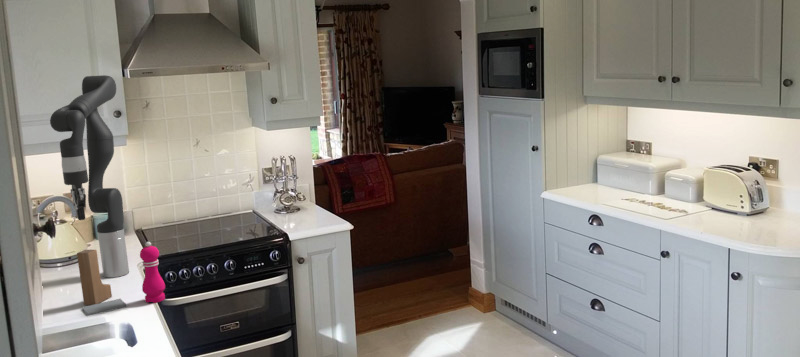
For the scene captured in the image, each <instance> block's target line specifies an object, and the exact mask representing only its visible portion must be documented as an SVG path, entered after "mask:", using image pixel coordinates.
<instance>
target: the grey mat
mask: <svg viewBox="0 0 800 357" xmlns="http://www.w3.org/2000/svg"><path fill="white" fill-rule="evenodd" d="M126 307H128V305H127V303H126V302H125V301H123V300H122V299H121V298H116V299H112V300H106V301H103V302H101V303H99V304H94V305H85V306H82V308H81V309H82V311H84V313H85V314H86V315H87V316H92V315H96V314H100V313H104V312H108V311H113V310H116V309H121V308H126Z"/></svg>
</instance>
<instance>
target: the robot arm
mask: <svg viewBox="0 0 800 357" xmlns="http://www.w3.org/2000/svg"><path fill="white" fill-rule="evenodd" d="M81 93H82V94H80V95H78V96H77V97H75V98H74V99H73V100H72V101H70V103H69V104H68V105H67V104H66V105H65V106H62V107H60V108H58V109H56V110H55V111H54V112H53V113H52V114H51V116H50V118H49V124H50V126H51V128H52V129H53V130H54V131H56V132H58V133H65V132H66V133H67V132H72V133H71V136H70V137H69V138H68V137H67V138H64V139H62V140H60V142H59V150H60V156H61V157H60V158H61V169H62V176H63V183H64V185H65V186H71V189H70V195H71V199H72V202H73V206H74V208H75V210H76V216H77V220H78V221H83V220H84V221H85V220H86V213H85V208H87V205H86V203H87V202H88V207H89V210H90V211H91V212H92V213H94V214H107V219H106V220H104V221H101V222H99V223H98V224H97V225H96V230H97V231H96V232H97V239H98V247H99V253H100V260H101V268H102V273H103V274H102V275H103V277H104V278H118V277H122V276H125V275H128V274H129V273H130V266H129V260H128V259H129V258H128V254H127V253H128V252H127V245H126V244H127V243H126V235H125V228H124V220H125V219H124V218H125V217H124V207H123V205H124V204H123V196H122V193H121V191H120V190H119V188H116V187H108V188H105V187H103V186H104V183H103V181H104V175H105V172H106V170H107V168H108V166H109V165H110V163H111V161H112V159H113V157H114V153H115V144H114V134H113V132H112V131H111V129H110V128H109V126H108V124H106V122H105V121H104V120H103V119H102V117H101V115H100V112H99V111H98V108H99V107H100V106H102V105H104V104H105V103H107V102H109V101H111V100H112V99H114V98H115V96H116V94H117V83H116V80H115V79H114V78H113V77H112V76H110V75H104V74H102V75H86V76H85V77H83V79H82V82H81ZM85 127H86V128H85ZM85 129H86V149H87V150H86V151H87V161H88V163H87V161H86V156H85V151H84V142H83V141H84V133H85ZM87 164H88V168H87ZM86 183H88V188H87V189H88V190H87V195H86V189H85V188H84V187H83V184H86ZM86 198H87V200H86ZM86 201H87V202H86Z"/></svg>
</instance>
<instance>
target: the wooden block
mask: <svg viewBox="0 0 800 357" xmlns="http://www.w3.org/2000/svg"><path fill="white" fill-rule="evenodd" d="M76 257H77V263H78V265H77V266H78V270H79V279H80V286H81V293H82V300H83V306H90V305H94V304H99V303H103V302H105V301H107V300H108V299H111V298H112V297H113V296H112V287H111V284H109V283H107V284H106V283H103V282H102V279H101V273H100V267H99V266H100V265H99V257H98V250H97V249H83V250H80V251H79V252H77V253H76Z"/></svg>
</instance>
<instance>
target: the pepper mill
mask: <svg viewBox="0 0 800 357" xmlns="http://www.w3.org/2000/svg"><path fill="white" fill-rule="evenodd" d="M139 257H140V259H141V260H142V267H144V271H145V274H144V275H145V276H144V279H143V282H142V288H141V289H142V290H141V291H142V293H144V294H145V296H144V301H146V302H145V303H147V302H148V303H147V304H150V303H149V302H153V303H152V304H156V303H161V302H163V301H165V299H166V295H165V294H166V293H165V292H164V291H165V289H166V284H165V281H164V280H163V277H162V276H161V274H160V272H159V269H158V266H159V264H160V263H159V259H158V258H159V257H160V251H159V249H158V248H157V247H156V246H154V245H152V242H150V241H146V242H145V246H144V247H143V248H142V249H140V252H139Z"/></svg>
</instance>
